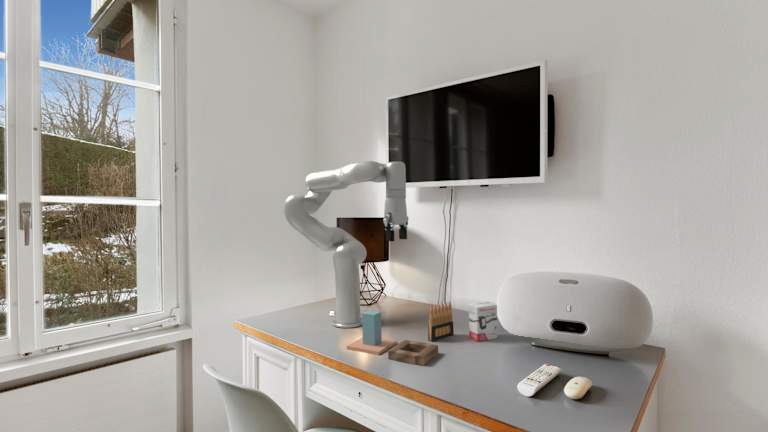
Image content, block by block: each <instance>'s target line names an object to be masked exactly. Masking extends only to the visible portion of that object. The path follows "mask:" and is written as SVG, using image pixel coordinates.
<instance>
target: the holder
mask: <svg viewBox="0 0 768 432" xmlns="http://www.w3.org/2000/svg"><path fill="white" fill-rule="evenodd" d="M387 350H388V351H387V355H388V360H392V361H396V362H401V363H404V364H405V363H406V364H411V365H416V366H417V365H419V366H422V367H423V366H425V365H426V364H428V363H429V362H430V361H431V360H432V359H434V357H436V356H437V355H438V354H439V345H438V344H431V343H429V342H428V343H427V342H422V341H416V340H407V339H404V340H402V341H401V342H400V343H397V344H395V345H394V346H392V347H391V348H389V349H387Z"/></svg>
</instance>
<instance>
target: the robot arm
mask: <svg viewBox="0 0 768 432" xmlns="http://www.w3.org/2000/svg"><path fill="white" fill-rule="evenodd" d="M406 171H407V170H406V163H404V162H403V161H389V162H387V163H380V162H378V161H373V160H366V161H362V162H356V163H355V162H354V163H350V164H347V165H343V166H341V167H336V168H330V169H326V170H319V171H314V172H312V173H309V174H307V176H306V178H305V181H304V182H305V183H304V185H305V187H306V189H307V190H308V191H307V193H305V194H303V193H302V194H301V193H297V194H292V195H289V196H288V197H287V198H286V200H285V201H284V204H283V213H284V216H285V219H286V221H287V222H288V224H289V225H290V226H291V227H292V228H293V229H294V230H295V231H297V232H298V233H300V234H301V235H302V236H303V237H305V238H306V239H307V240H308V241H309V242H311V243H312V244H313V245H315V246H316V247H317V248H318V249H320V250H321V251H323V252H332V251H334V252H333V255H332V262H333V268H334V269H333V270H334V275H335V277H334V278H335V279H334V280H335V283H334V284H335V310H330V311H329V314H328V316H329V317H330V318H333V320H332V322H331V323H332V326H334V327H337V328H342V329H343V328H344V329H345V328H347V329H350V328H351V329H352V328H357V327H361V326H362V317H361V295H360V294H361V285H360V284H361V281H360V280H361V278H360V272H359V267H358V265H360V264H362V263H363V262H365V260H366V258H367V255H368V253H367V249H366V247H365V246H364V244H362V242H361V241H359V240H358V239H357V238H355V237H354V236H353V235H351V234H350V233H348V232H347V231H346V230H344V229H342V228H340V227H336V226H333V227H331V226H330V227H329V226H327V225H326V224H324V223H323V222H321V221H320V220H318V219H317V218H315V217H314V216H312V215H313V214H316V212H318V211H319V210H320V208H321V207H322V205H324V203H325V201H326V200H327V199H328V198H329V196H330V195H331V193H332V192H333V191H339V190H344V189H347V188H348V187H349V186H351V185H354V184H361V183H367V182H371V183H376V184H377V183H378V184H379V183H380V184H381V183H385V202H384V212H383V213H384V214H383V215H384V216H383V219H382V221H383V225H384V230H385V239H386V240H385V241H386V242H395V230H394V228H395V226H398V227H399V229H398V238H399V239H398V240H408V225H409V217H408V211H407V209H408V208H407V201H406V198H407V189H406V188H407V187H406V185H407V183H406V182H407V179H406V177H407V176H406V175H407V174H406Z"/></svg>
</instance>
